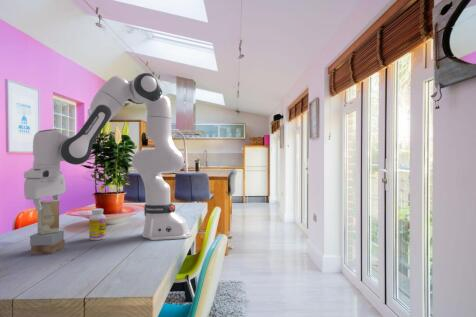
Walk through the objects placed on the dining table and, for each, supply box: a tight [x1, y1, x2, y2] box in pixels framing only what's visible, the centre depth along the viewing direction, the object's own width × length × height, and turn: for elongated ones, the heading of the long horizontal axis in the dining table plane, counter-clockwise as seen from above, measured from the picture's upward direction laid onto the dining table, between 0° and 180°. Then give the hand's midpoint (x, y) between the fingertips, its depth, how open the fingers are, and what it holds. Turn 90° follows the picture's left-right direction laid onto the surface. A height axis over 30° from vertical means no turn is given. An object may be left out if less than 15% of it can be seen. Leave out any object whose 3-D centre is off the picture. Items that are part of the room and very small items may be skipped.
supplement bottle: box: [88, 208, 107, 241], centre depth 139 cm, size 7×7×13 cm
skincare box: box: [37, 199, 60, 235], centre depth 122 cm, size 6×4×12 cm
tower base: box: [30, 238, 66, 255], centre depth 122 cm, size 8×8×4 cm
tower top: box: [29, 230, 65, 246], centre depth 122 cm, size 8×8×4 cm
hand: (47, 208), depth 122 cm, fingers open, 8 cm apart
